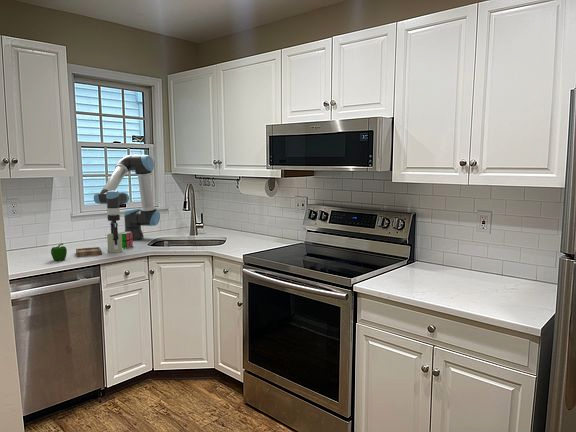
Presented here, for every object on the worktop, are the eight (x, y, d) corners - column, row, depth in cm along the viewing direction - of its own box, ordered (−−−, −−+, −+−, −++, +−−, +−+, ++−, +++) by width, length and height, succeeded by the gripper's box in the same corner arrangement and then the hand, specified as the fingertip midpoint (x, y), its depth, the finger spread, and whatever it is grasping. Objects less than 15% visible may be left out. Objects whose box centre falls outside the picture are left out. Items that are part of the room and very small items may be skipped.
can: (114, 253, 286) (113, 234, 284) (104, 252, 290) (103, 233, 289) (125, 250, 294) (125, 233, 292) (116, 249, 298) (115, 232, 297)
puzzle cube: (133, 245, 314) (132, 231, 313) (126, 248, 304) (125, 233, 303) (119, 245, 315) (118, 231, 314) (112, 248, 305) (111, 233, 304)
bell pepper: (49, 261, 260) (48, 245, 259) (54, 259, 268) (53, 242, 267) (64, 261, 262) (63, 244, 261) (69, 258, 270) (68, 242, 269)
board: (99, 251, 293) (99, 247, 293) (101, 254, 281) (101, 250, 280) (76, 253, 286) (75, 248, 286) (77, 257, 274) (77, 252, 274)
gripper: (105, 213, 297) (107, 246, 299) (109, 216, 278) (111, 251, 281) (117, 212, 300) (118, 245, 303) (122, 215, 282) (123, 250, 284)
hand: (115, 248), depth 292 cm, fingers closed on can, 9 cm apart
